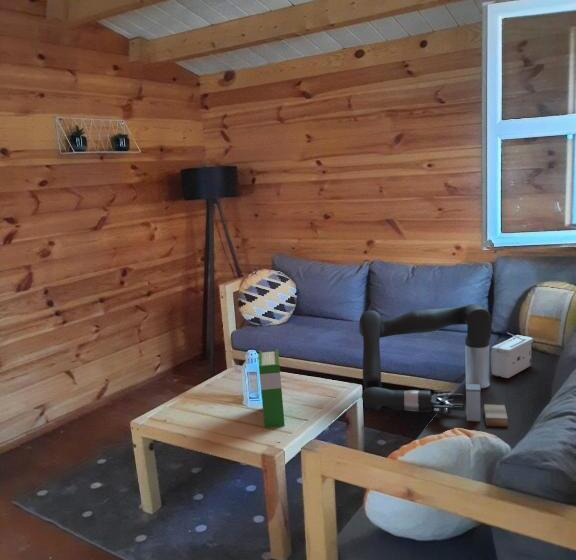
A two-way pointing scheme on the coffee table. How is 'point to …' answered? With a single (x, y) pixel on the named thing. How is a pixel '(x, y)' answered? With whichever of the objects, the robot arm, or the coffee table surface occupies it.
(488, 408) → the stand
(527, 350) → the stereo radio cassette player
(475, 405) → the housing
